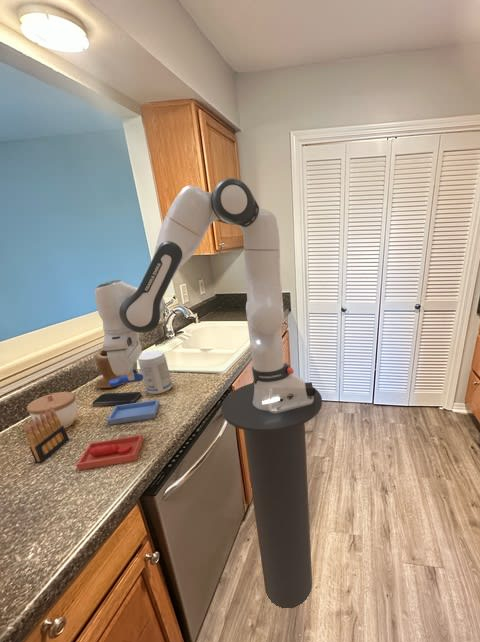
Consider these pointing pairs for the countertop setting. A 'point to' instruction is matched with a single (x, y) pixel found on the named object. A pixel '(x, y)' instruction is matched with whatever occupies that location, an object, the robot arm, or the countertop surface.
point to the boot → (104, 370)
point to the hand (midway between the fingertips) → (133, 377)
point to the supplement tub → (155, 372)
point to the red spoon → (111, 449)
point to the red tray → (110, 459)
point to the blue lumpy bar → (125, 380)
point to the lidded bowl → (55, 407)
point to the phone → (116, 398)
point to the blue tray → (133, 412)
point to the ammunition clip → (45, 435)
